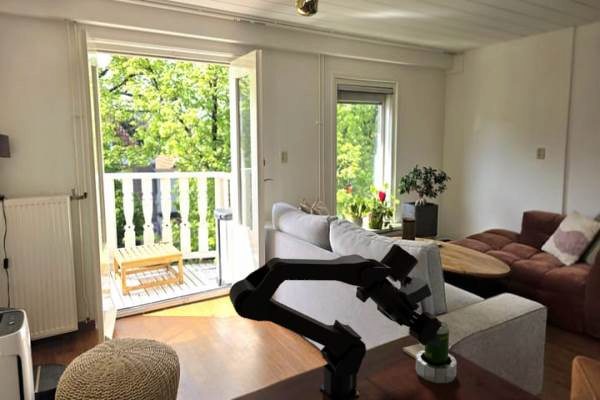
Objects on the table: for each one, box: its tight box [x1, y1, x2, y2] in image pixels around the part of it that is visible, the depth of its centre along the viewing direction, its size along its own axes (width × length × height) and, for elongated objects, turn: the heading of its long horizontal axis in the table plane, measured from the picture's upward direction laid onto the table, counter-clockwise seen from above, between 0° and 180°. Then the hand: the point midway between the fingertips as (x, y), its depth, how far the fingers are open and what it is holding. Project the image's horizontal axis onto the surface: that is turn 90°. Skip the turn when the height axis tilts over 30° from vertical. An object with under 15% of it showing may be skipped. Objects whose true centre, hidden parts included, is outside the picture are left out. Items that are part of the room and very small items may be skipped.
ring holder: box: [415, 350, 458, 384], centre depth 100 cm, size 9×9×4 cm
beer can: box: [424, 320, 450, 366], centre depth 99 cm, size 5×5×12 cm
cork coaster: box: [402, 343, 425, 360], centre depth 109 cm, size 6×6×1 cm
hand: (427, 335), depth 98 cm, fingers open, 9 cm apart
